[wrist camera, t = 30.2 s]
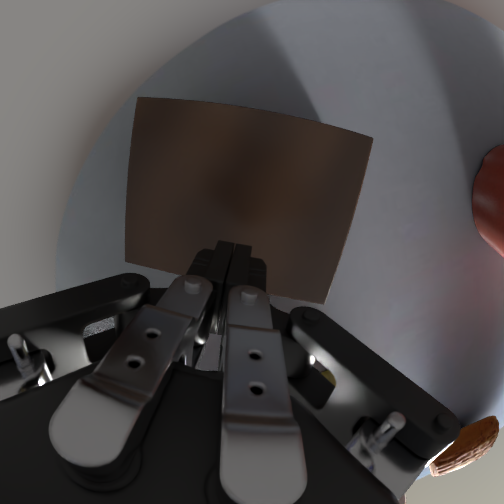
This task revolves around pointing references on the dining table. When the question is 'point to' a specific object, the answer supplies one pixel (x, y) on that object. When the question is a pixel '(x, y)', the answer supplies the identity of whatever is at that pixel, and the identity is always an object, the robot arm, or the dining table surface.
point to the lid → (242, 190)
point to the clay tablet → (467, 446)
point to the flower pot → (490, 199)
